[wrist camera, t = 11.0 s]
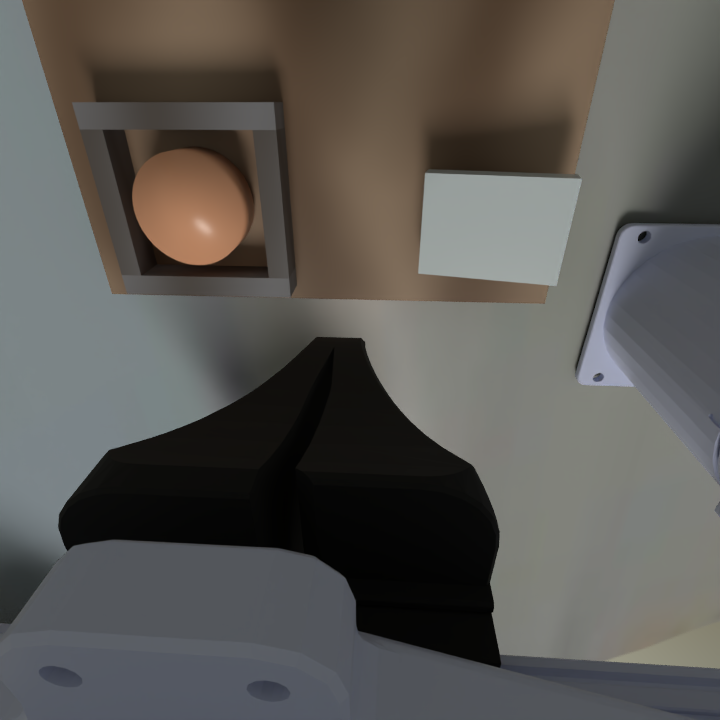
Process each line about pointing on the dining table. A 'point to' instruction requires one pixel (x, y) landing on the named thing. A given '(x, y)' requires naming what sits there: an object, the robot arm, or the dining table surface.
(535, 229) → the grey flat tile
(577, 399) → the dining table surface
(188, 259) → the push button
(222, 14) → the panel
